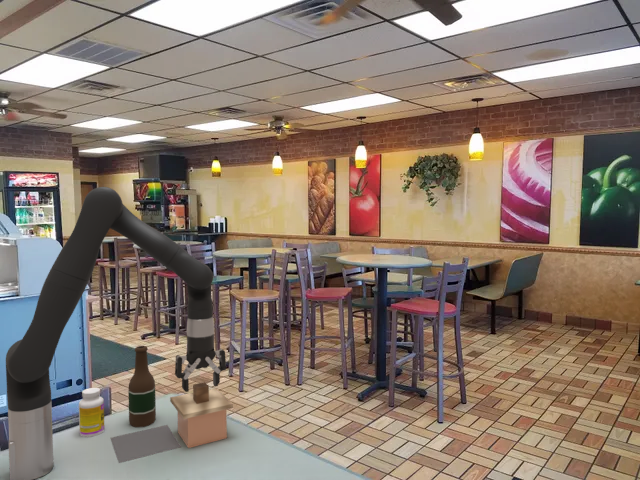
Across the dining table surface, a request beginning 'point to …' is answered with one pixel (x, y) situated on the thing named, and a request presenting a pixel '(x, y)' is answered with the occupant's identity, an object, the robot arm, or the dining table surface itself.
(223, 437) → the terracotta square planter
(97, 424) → the supplement bottle
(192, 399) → the lid
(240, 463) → the dining table surface
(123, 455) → the mat
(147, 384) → the beer bottle
